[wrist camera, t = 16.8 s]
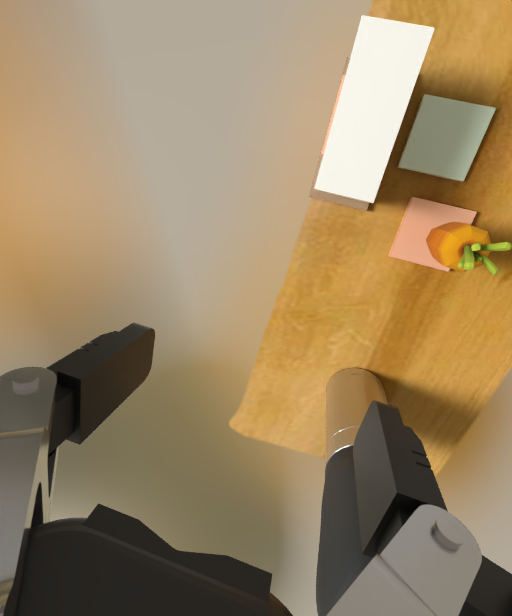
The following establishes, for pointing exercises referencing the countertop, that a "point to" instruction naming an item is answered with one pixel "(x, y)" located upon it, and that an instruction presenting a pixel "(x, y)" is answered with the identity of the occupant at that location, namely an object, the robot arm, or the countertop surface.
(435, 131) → the sage tile
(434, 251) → the carrot
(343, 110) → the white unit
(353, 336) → the countertop surface
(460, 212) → the terracotta tile
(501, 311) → the countertop surface
